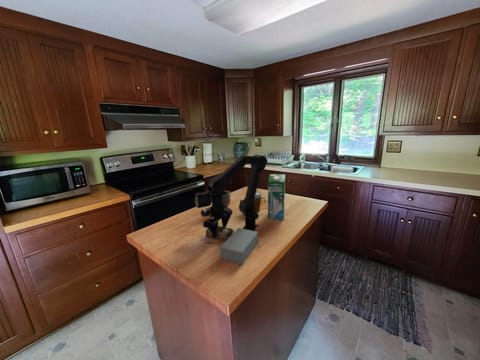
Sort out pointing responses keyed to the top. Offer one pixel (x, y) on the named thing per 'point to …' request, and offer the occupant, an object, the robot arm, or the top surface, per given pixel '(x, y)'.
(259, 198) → the disposable coffee cup
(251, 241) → the grey shelf
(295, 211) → the top surface
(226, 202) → the mortar and pestle
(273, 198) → the milk carton
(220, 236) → the walnut tray
